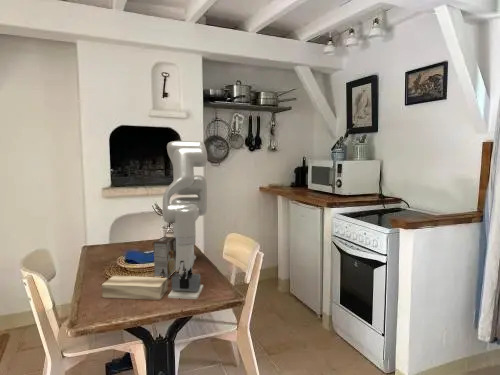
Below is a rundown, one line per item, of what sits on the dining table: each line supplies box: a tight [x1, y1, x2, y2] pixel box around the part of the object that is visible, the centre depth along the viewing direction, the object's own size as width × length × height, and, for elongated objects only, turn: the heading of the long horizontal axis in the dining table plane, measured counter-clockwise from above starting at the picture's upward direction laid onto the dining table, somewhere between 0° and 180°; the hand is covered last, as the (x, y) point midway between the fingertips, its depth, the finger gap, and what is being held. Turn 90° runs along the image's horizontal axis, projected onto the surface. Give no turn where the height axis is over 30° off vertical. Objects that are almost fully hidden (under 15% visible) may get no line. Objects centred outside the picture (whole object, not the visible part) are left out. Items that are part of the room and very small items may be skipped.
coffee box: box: [153, 236, 176, 280], centre depth 148 cm, size 9×6×16 cm
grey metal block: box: [171, 272, 201, 291], centre depth 131 cm, size 5×10×5 cm, turn 85°
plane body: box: [101, 275, 169, 301], centre depth 129 cm, size 9×22×5 cm, turn 85°
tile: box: [167, 284, 204, 300], centre depth 131 cm, size 11×11×1 cm
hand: (186, 284), depth 131 cm, fingers open, 5 cm apart
